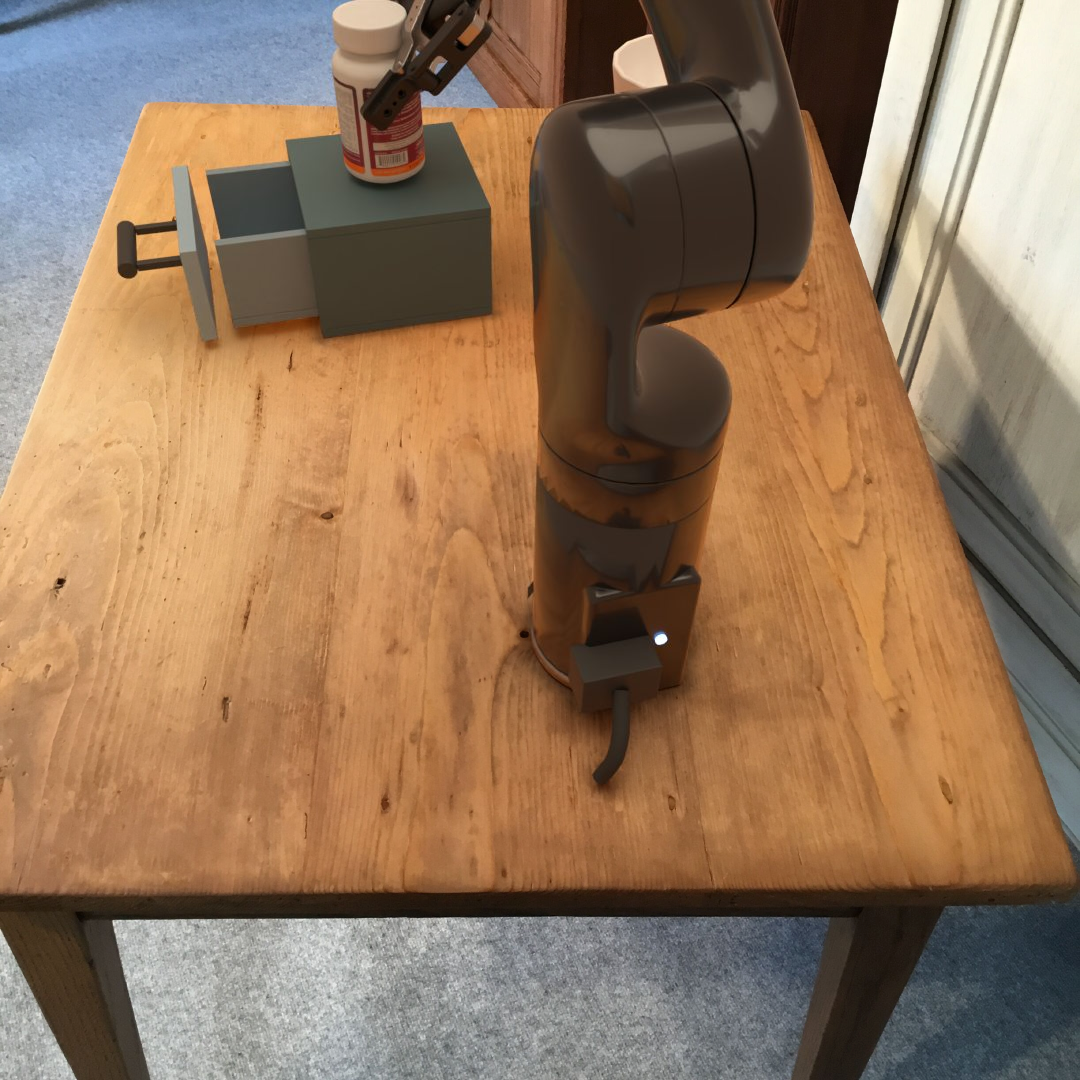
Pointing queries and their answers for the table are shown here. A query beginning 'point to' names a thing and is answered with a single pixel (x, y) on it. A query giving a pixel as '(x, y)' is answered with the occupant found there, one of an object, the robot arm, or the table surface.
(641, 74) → the cup
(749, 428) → the table surface
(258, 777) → the table surface
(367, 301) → the cabinet
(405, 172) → the pill bottle
